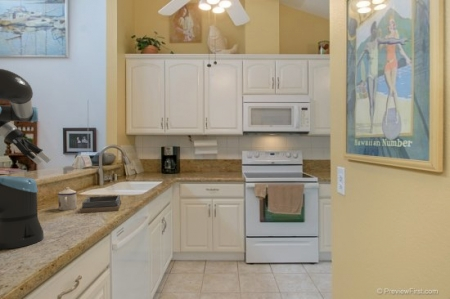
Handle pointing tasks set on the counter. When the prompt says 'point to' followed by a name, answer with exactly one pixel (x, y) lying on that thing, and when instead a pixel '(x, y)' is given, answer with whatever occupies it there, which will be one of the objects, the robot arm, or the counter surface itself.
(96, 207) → the collar stand
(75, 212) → the counter surface
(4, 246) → the robot arm
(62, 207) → the teacup with lid
